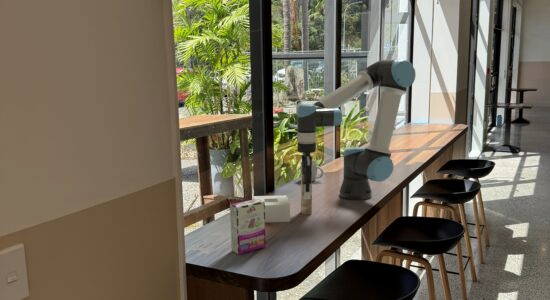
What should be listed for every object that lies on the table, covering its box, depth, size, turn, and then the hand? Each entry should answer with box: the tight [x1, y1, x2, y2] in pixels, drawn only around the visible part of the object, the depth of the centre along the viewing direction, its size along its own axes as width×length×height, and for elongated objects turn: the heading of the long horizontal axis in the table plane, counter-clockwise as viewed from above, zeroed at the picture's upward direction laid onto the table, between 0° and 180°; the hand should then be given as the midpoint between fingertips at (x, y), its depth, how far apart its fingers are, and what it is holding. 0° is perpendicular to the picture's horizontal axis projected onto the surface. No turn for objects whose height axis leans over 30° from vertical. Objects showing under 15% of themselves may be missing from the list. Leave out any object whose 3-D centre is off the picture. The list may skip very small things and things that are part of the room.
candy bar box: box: [229, 199, 267, 255], centre depth 164 cm, size 11×5×16 cm, turn 126°
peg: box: [300, 169, 313, 215], centre depth 204 cm, size 4×4×18 cm
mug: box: [299, 160, 324, 182], centre depth 262 cm, size 13×9×10 cm
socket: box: [252, 194, 291, 223], centre depth 200 cm, size 14×14×7 cm
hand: (306, 197), depth 205 cm, fingers closed on peg, 4 cm apart
